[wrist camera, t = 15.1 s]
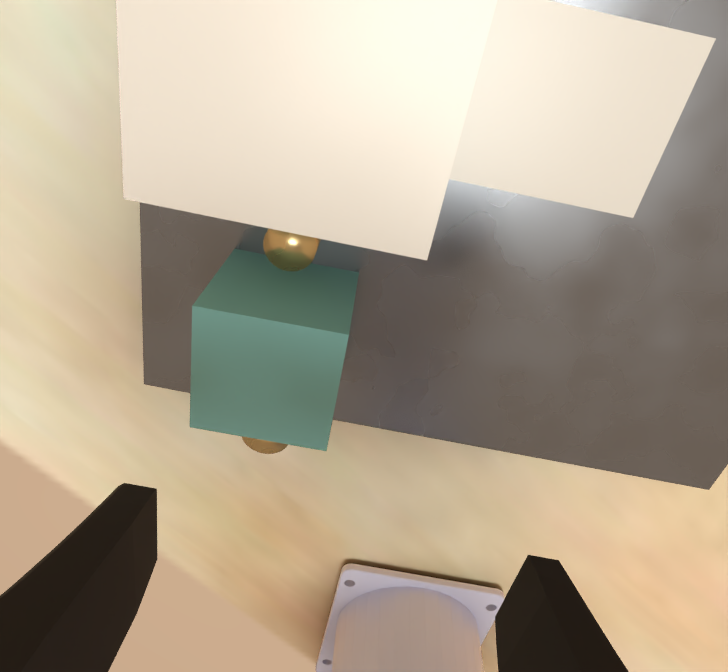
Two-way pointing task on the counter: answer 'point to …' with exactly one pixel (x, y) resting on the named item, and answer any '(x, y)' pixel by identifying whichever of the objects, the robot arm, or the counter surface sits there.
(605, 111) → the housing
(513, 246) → the base plate
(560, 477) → the counter surface
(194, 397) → the block
